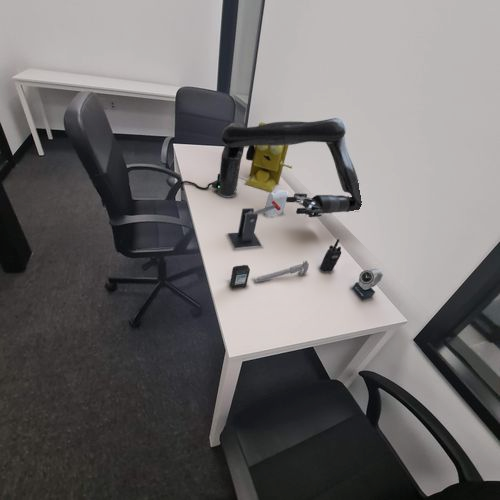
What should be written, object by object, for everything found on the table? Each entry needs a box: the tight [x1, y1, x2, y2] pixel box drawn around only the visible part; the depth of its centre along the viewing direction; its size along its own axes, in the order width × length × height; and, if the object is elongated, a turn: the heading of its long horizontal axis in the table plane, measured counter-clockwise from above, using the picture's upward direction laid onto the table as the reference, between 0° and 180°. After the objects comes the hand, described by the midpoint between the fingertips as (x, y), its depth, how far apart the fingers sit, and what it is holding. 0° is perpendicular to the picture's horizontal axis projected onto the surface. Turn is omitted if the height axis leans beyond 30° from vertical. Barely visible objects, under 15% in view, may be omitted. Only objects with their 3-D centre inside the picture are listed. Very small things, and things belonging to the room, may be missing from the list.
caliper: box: [253, 260, 309, 283], centre depth 91 cm, size 20×1×6 cm, turn 112°
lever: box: [244, 201, 281, 217], centre depth 99 cm, size 13×5×2 cm, turn 111°
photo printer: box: [264, 189, 289, 217], centre depth 123 cm, size 10×4×12 cm, turn 123°
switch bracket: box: [227, 207, 262, 249], centre depth 101 cm, size 11×9×14 cm
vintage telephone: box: [238, 122, 293, 193], centre depth 142 cm, size 31×14×30 cm, turn 73°
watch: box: [352, 268, 384, 301], centre depth 91 cm, size 6×8×11 cm
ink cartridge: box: [229, 264, 251, 290], centre depth 84 cm, size 5×2×8 cm, turn 111°
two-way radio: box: [319, 238, 342, 273], centre depth 97 cm, size 6×4×15 cm
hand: (291, 205), depth 102 cm, fingers open, 8 cm apart
